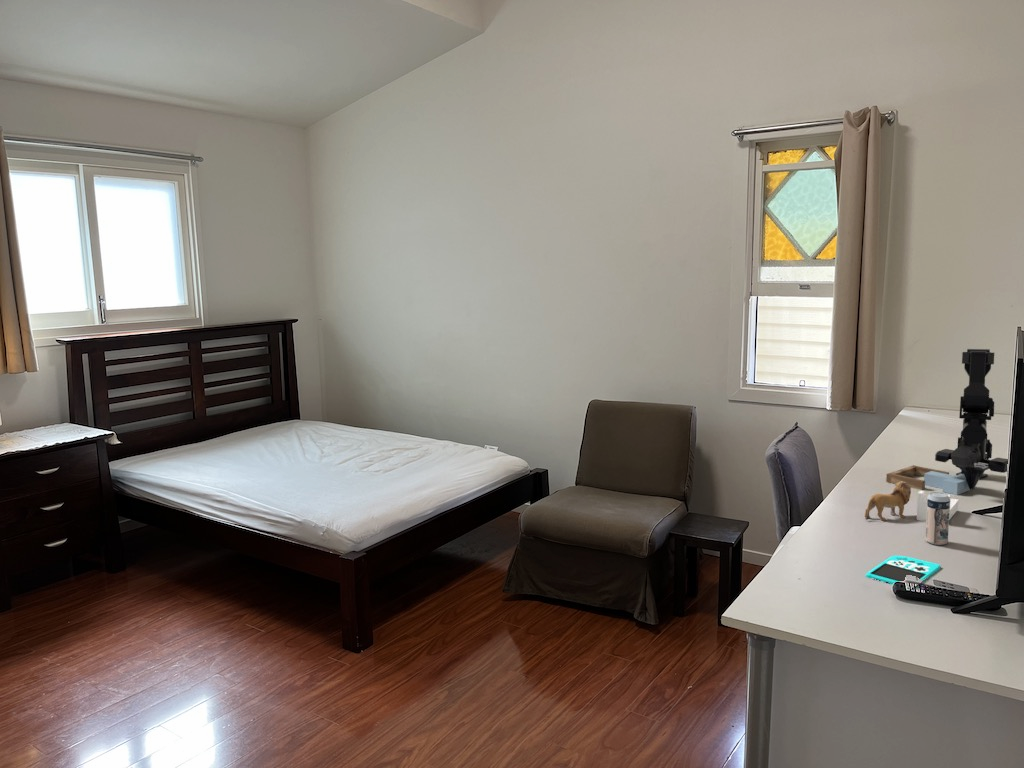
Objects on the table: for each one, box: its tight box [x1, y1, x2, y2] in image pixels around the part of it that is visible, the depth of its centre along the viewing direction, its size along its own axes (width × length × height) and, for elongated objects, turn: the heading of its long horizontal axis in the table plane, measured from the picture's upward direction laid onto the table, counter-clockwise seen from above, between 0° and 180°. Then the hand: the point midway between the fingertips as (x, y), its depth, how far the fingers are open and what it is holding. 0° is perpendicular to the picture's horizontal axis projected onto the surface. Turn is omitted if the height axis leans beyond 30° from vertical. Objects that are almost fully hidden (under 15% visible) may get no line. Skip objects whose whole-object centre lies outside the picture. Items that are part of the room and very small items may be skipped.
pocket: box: [885, 465, 950, 491], centre depth 229 cm, size 15×11×2 cm
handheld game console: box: [865, 555, 941, 585], centre depth 165 cm, size 10×16×1 cm, turn 131°
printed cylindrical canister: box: [925, 491, 950, 546], centre depth 180 cm, size 5×5×12 cm
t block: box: [923, 471, 971, 496], centre depth 222 cm, size 10×11×4 cm
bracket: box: [916, 490, 960, 523], centre depth 199 cm, size 13×7×8 cm, turn 139°
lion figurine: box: [864, 481, 912, 522], centre depth 199 cm, size 15×5×9 cm, turn 112°
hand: (971, 489), depth 216 cm, fingers closed
